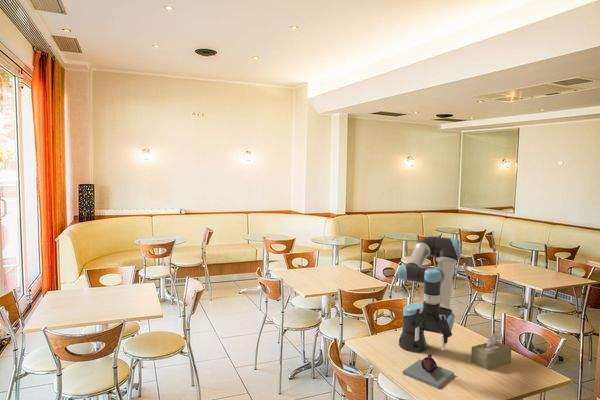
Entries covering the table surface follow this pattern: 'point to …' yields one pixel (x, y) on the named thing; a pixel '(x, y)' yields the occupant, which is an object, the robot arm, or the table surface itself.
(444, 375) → the slate plate
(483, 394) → the table surface
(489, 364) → the tissue box
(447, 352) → the table surface
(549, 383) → the table surface
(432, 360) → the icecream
